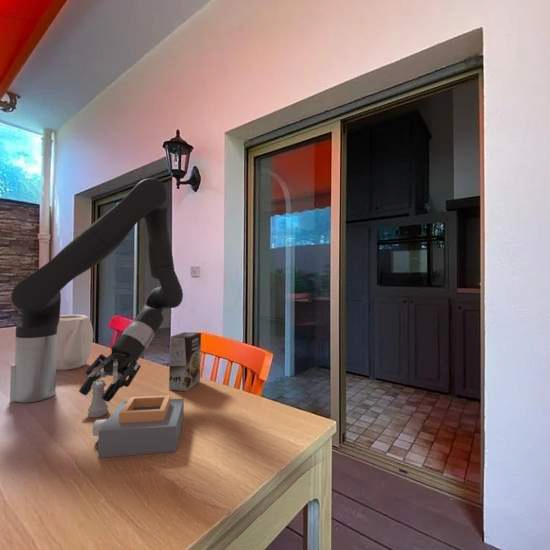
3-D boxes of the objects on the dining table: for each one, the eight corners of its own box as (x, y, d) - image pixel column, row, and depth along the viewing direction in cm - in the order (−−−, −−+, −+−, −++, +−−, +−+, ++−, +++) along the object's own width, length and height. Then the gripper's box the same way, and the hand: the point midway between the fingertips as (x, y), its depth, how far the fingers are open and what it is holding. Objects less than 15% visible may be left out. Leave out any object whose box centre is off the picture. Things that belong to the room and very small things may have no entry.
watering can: (53, 381, 101) (55, 322, 101) (33, 364, 118) (34, 314, 118) (105, 370, 112) (106, 318, 112) (80, 357, 130) (81, 311, 130)
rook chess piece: (86, 419, 74) (87, 385, 74) (88, 412, 78) (88, 380, 78) (108, 416, 76) (108, 383, 76) (108, 409, 80) (109, 377, 80)
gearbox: (80, 459, 58) (81, 421, 58) (106, 424, 72) (107, 393, 72) (175, 451, 61) (176, 415, 61) (183, 419, 75) (184, 390, 75)
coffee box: (187, 391, 93) (188, 337, 93) (168, 389, 95) (169, 336, 95) (201, 381, 102) (202, 332, 102) (182, 380, 103) (183, 331, 104)
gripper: (108, 330, 87) (64, 384, 77) (144, 335, 81) (102, 394, 71) (124, 346, 92) (85, 398, 82) (160, 352, 86) (122, 409, 75)
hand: (93, 396), depth 76 cm, fingers open, 8 cm apart
